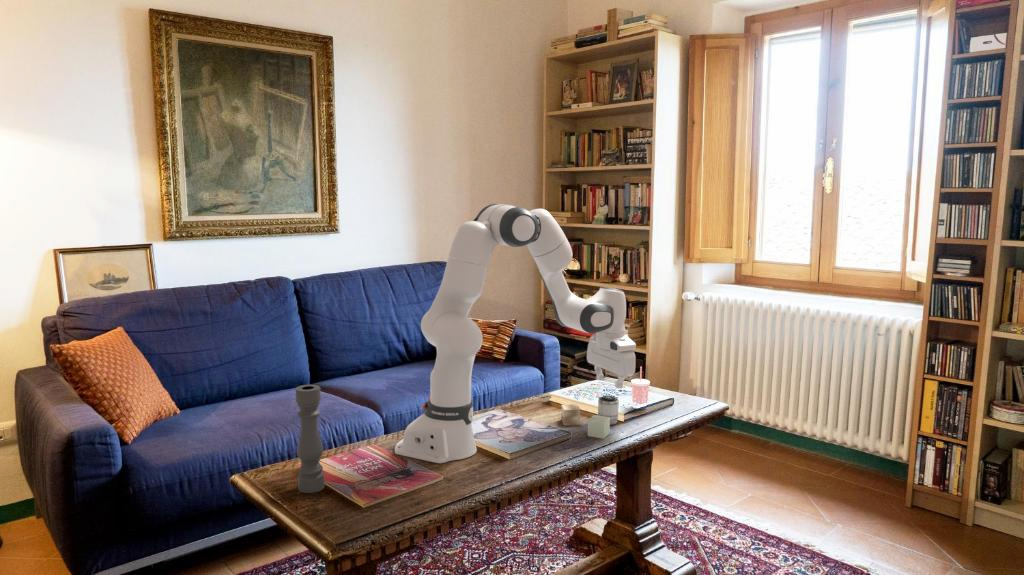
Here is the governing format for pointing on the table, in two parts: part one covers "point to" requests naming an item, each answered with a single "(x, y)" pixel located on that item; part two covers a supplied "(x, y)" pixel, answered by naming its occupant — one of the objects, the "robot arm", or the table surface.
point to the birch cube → (570, 414)
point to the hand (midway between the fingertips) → (609, 383)
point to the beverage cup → (640, 389)
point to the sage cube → (598, 426)
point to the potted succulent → (608, 408)
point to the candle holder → (309, 440)
